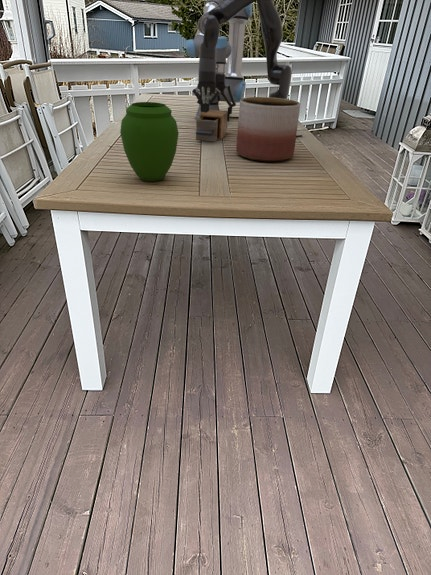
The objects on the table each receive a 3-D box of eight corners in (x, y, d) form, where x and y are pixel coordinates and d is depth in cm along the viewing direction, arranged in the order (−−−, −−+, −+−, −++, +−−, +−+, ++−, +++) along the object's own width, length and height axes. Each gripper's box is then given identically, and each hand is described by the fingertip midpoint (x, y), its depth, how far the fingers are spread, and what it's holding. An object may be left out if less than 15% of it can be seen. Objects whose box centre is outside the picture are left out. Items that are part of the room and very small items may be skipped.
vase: (131, 189, 135) (125, 110, 122) (118, 172, 150) (112, 100, 137) (186, 184, 142) (187, 109, 129) (169, 168, 157) (167, 99, 144)
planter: (301, 163, 172) (310, 106, 161) (242, 163, 168) (247, 105, 157) (283, 148, 194) (289, 97, 182) (230, 148, 189) (234, 96, 178)
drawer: (213, 144, 191) (214, 123, 187) (193, 142, 193) (193, 121, 188) (222, 135, 209) (223, 115, 204) (203, 133, 210) (203, 114, 205)
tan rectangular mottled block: (220, 140, 203) (221, 116, 198) (199, 138, 205) (199, 114, 199) (226, 133, 217) (227, 110, 211) (206, 131, 219) (207, 109, 213)
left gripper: (191, 72, 199) (191, 118, 211) (241, 75, 196) (238, 123, 207) (195, 71, 206) (194, 116, 217) (243, 74, 202) (240, 120, 213)
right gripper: (190, 69, 176) (189, 112, 186) (220, 71, 174) (218, 114, 184) (194, 68, 183) (194, 110, 192) (223, 70, 181) (221, 112, 190)
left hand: (215, 119), depth 212 cm, fingers open, 12 cm apart
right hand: (206, 112), depth 188 cm, fingers closed
